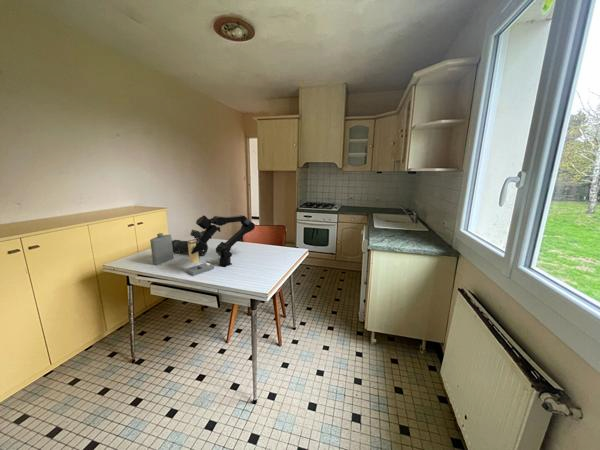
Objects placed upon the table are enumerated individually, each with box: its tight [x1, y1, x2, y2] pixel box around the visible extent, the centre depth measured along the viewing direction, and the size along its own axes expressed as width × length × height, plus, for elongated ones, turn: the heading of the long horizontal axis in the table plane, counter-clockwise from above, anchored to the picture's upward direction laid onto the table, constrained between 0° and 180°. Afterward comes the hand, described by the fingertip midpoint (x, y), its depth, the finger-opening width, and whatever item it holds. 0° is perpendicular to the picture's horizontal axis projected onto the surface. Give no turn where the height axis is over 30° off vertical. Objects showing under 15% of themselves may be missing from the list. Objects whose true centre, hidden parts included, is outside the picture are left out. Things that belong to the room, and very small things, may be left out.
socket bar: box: [186, 262, 215, 277], centre depth 146 cm, size 14×8×3 cm, turn 143°
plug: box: [187, 238, 200, 265], centre depth 142 cm, size 4×4×14 cm
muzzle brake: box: [172, 239, 209, 256], centre depth 175 cm, size 10×28×10 cm, turn 78°
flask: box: [150, 232, 174, 266], centre depth 158 cm, size 15×6×20 cm, turn 163°
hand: (191, 252), depth 141 cm, fingers closed on plug, 5 cm apart
